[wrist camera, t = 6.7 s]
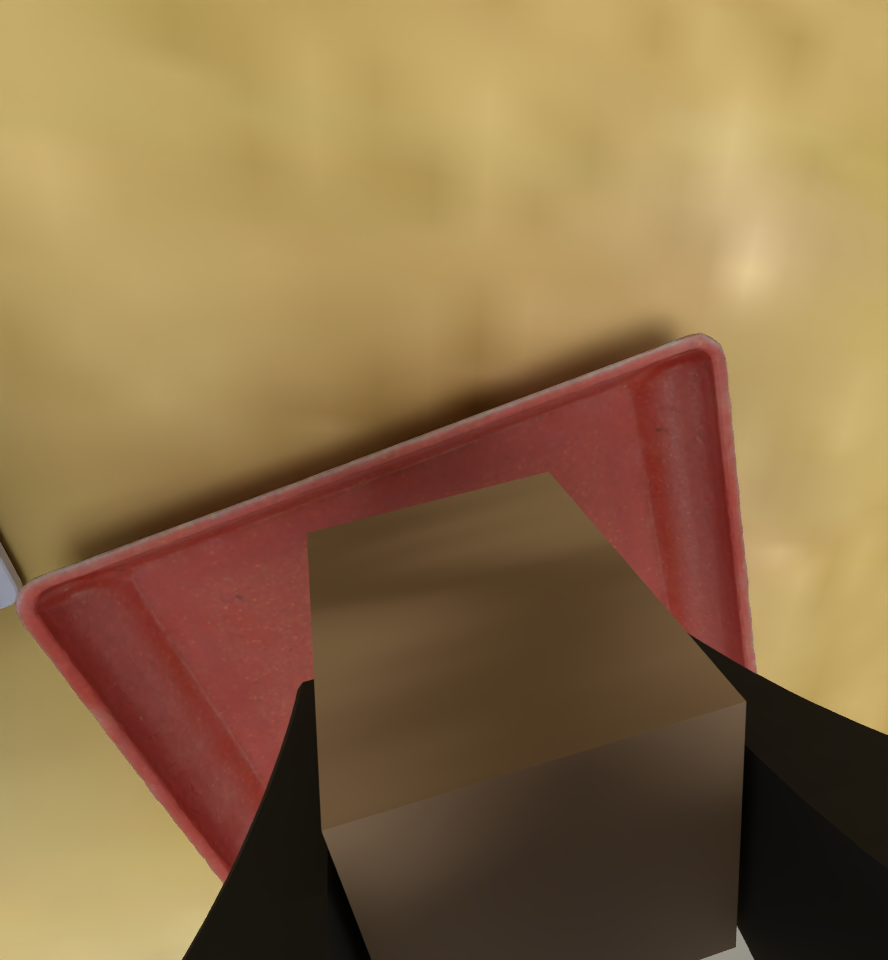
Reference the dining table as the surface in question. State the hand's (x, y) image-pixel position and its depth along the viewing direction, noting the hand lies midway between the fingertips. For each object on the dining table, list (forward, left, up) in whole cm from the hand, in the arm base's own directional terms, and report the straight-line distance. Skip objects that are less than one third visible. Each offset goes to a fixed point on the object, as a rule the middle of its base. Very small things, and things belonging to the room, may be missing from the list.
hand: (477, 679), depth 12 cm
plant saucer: (0, -7, -9) cm, 11 cm away
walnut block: (0, 0, -2) cm, 2 cm away
